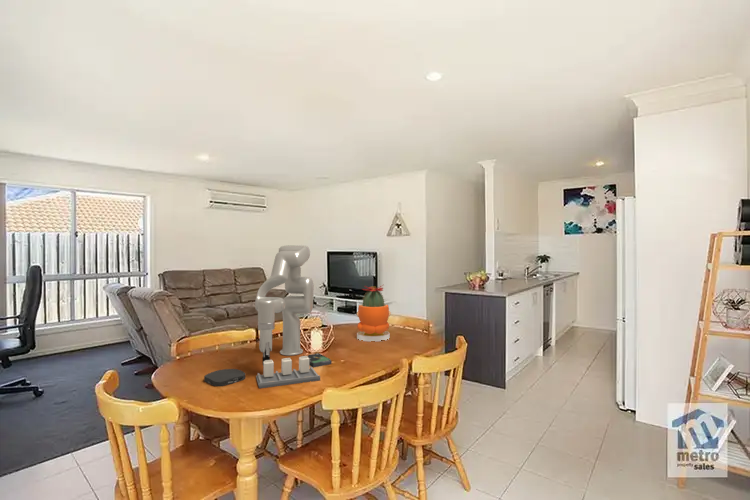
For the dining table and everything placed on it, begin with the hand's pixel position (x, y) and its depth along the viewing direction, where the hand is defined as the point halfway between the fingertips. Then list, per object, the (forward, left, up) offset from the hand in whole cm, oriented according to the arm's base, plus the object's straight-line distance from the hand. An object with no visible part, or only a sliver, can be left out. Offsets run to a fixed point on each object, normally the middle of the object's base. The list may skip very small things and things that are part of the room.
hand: (266, 364), depth 176 cm
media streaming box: (+2, -18, -4) cm, 19 cm away
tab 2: (+9, +8, -2) cm, 12 cm away
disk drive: (-8, +26, -4) cm, 27 cm away
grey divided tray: (+12, +8, -4) cm, 15 cm away
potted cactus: (-42, +72, -4) cm, 83 cm away
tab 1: (+9, 0, -2) cm, 9 cm away
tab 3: (+9, +16, -2) cm, 18 cm away
